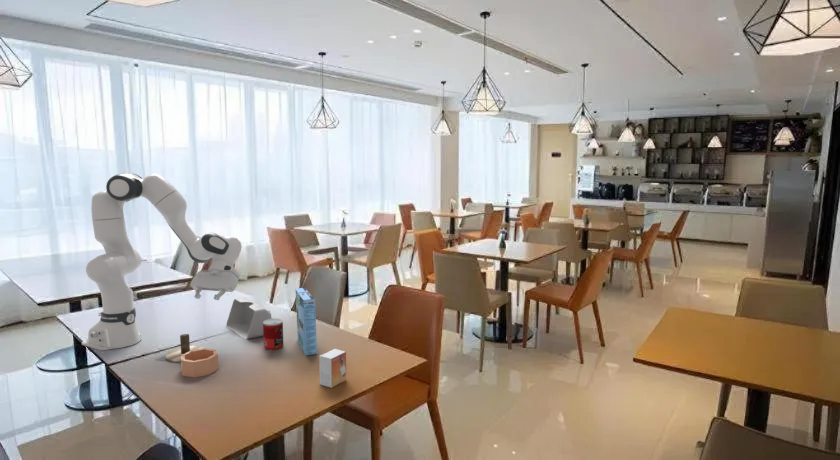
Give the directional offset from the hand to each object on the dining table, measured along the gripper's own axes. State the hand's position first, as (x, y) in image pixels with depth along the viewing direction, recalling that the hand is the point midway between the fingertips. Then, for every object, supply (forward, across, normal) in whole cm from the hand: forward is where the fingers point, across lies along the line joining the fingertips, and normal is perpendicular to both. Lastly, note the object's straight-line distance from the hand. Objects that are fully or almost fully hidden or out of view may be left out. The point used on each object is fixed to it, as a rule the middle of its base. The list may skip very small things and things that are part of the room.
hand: (206, 298), depth 201 cm
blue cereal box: (+8, +40, +21) cm, 46 cm away
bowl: (+30, +14, -2) cm, 34 cm away
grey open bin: (-1, +6, +30) cm, 30 cm away
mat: (+23, -1, +5) cm, 24 cm away
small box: (+28, +65, +2) cm, 71 cm away
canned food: (+11, +27, +18) cm, 35 cm away
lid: (+23, -1, +4) cm, 23 cm away
